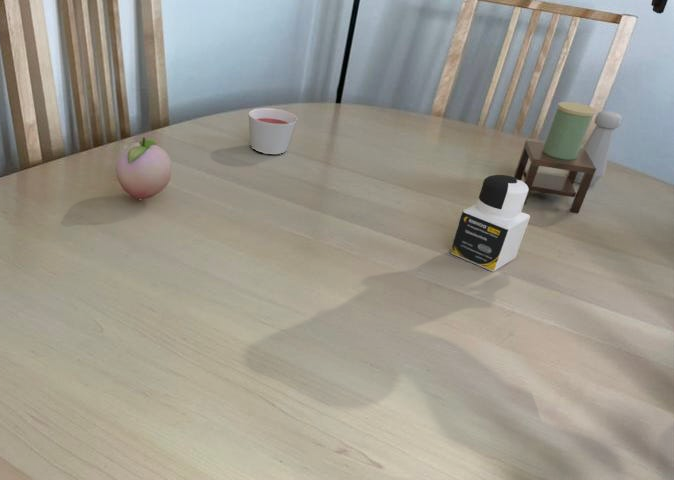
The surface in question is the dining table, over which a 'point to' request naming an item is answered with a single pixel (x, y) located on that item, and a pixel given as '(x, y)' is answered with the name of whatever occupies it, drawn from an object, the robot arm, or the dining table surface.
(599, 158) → the salt shaker
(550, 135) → the tea tin
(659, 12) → the robot arm
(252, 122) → the candle
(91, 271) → the dining table surface
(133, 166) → the decorative fruit
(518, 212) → the medicine bottle
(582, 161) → the stand
